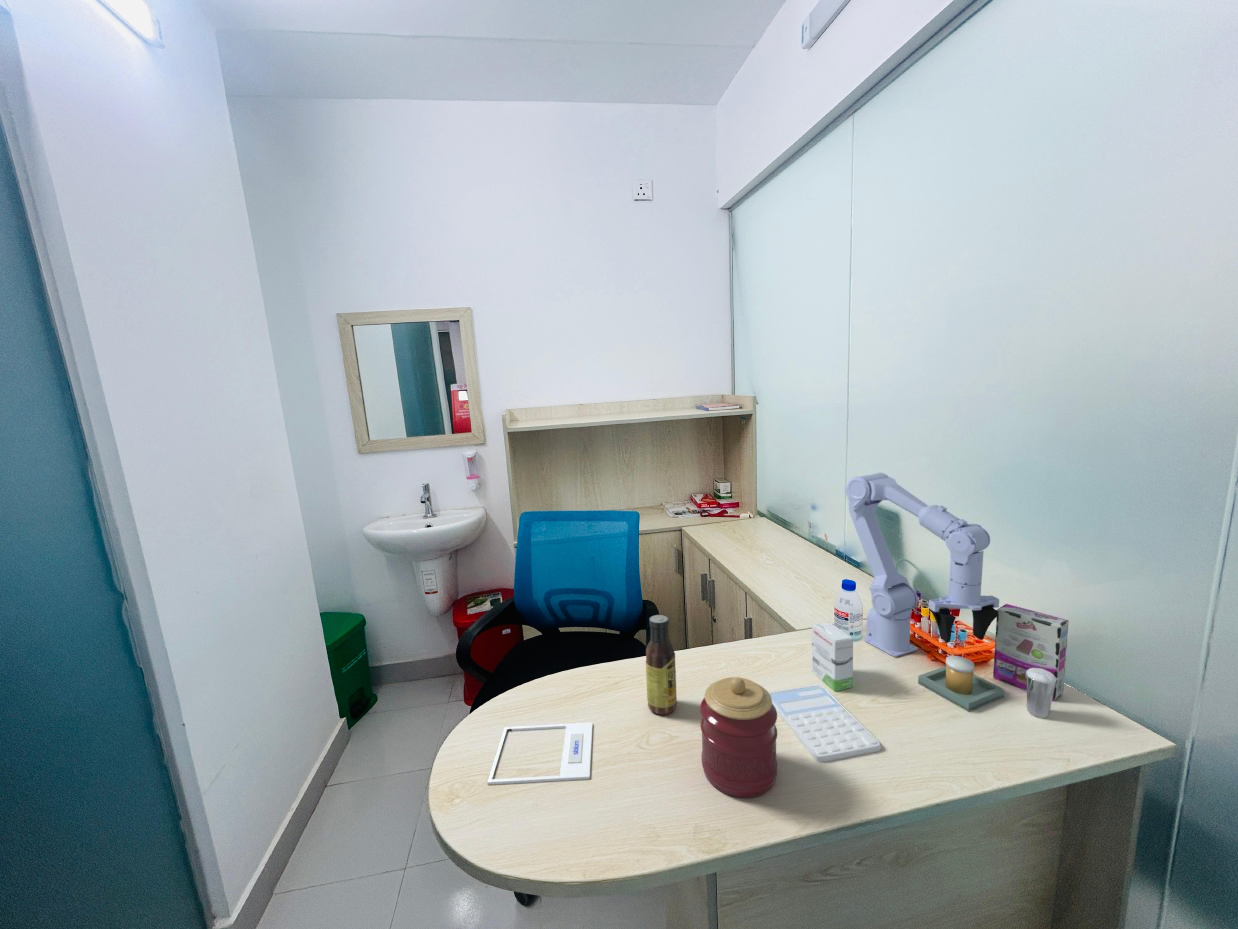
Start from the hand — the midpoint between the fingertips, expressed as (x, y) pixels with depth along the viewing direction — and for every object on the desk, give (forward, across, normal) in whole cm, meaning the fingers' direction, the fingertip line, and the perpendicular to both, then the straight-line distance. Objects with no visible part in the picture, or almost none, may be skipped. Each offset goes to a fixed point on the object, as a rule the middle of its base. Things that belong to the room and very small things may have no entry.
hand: (961, 638), depth 112 cm
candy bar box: (+10, +12, -4) cm, 16 cm away
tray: (+9, -3, -4) cm, 11 cm away
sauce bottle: (+10, -67, -2) cm, 68 cm away
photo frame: (+10, -92, -12) cm, 93 cm away
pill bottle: (+9, -4, -4) cm, 10 cm away
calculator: (+10, -37, -10) cm, 40 cm away
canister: (+10, -56, -21) cm, 61 cm away
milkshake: (+9, +6, -14) cm, 18 cm away
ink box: (+10, -28, +3) cm, 30 cm away
